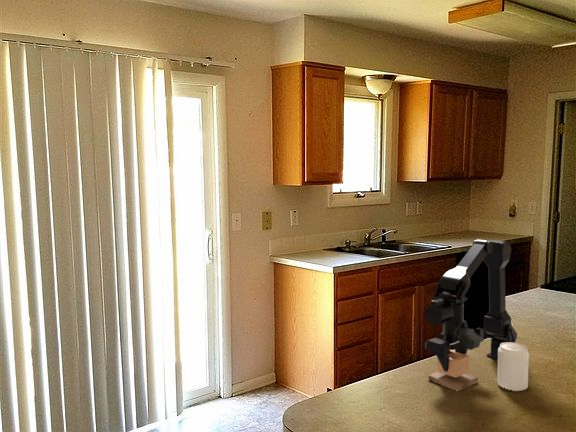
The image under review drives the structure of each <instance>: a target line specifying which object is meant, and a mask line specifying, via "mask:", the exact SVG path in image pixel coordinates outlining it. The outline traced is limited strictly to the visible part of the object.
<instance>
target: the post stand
mask: <svg viewBox="0 0 576 432" xmlns="http://www.w3.org/2000/svg"><path fill="white" fill-rule="evenodd" d="M478 378H479V377H477V376H475V375H472V374H470V373H466V374H463V375H461V376H459V377H456V378H455V377H452V376H449V375H447V374H444V373H442V372H439V371H436V372H433V373H431V374H428V379H430V380H432V381H435V382H437V383H440V384H442V385H444V386H447V387H450V388H452V389H454V390H459V389H461V388H464V387H466V386H468V385H470V386H472V385H471V384H473V383H475V384H477V383H478ZM432 381H431V382H432ZM476 382H477V383H476ZM437 383H436V384H437ZM473 385H474V384H473ZM444 386H443V387H444ZM468 387H469V386H468ZM466 388H467V387H466ZM464 389H465V388H464ZM454 390H453V391H454ZM461 390H462V389H461ZM459 391H460V390H459Z"/></svg>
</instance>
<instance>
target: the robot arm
mask: <svg viewBox="0 0 576 432" xmlns="http://www.w3.org/2000/svg"><path fill="white" fill-rule="evenodd" d="M511 253H512V246H511V244H510V243H509V242H508V241H506V240H495V239H479V238H478V239H475V240H474V241H472V246H471V247H470V248H469V250H468V251H467V252H466V253H465V255H464V257H462V259H461V260H460V262H459V263H458V264H457V265H456V267H454V268H452V269H449V270H448V271H446V272H445V273H444V274H443V275H442V276H441V278H440V280H439V282H438V284H437V286H436V288H435V289H436V290H435V291H434V294H433V299H434V300H433V299H431V301H430V305H428V306H427V307H426V308H425V311H424V317H425V320H426V321H427V322H428V323H429V324H430V325H432V326H437V325H443V327H442V332H441V333H439V334H440V335H439V337H440V338H438V337H434V338H431V339H427V340H426V341H425V343H424V344H425V346H424V347H425V349H424V350H427V351H428V352H431V353H434V354H435V355H436V358H437V357H438V359H439V361H440V363H441V365H442V368H443V370H444V371H446V372H447V371H448V367H449V356H450V355H451V354H452V353H453V352H452V351H450V350H451V345H452V346H453V347H454V351H456V352H459V353H462V354H465V355H467V352H468V351H469V350H474V349H478V348H479V347H480V345H481V343H482V342H484V341H485V338H489V339H490V352H489V353H487V354H486V356H487V357H489V358H492V359H495V360H498V348H499V347H500V344H501V343H505V342H513V343H516V341H517V339H518V333H517V331H516V330H515V328H514V326H513V322H512V317H511V316H510V314H509V312H508V311H507V310H506V309H507V308H506V307H507V306H506V270H505V269H506V266H507V264H508V263H509V261H510V259H511ZM482 262H484V263H485V265H486V266H487V269H488V298H489V299H488V301H489V302H488V303H489V305H488V307H489V309H488V312H487V314H486V315H484V316H483V328H481V327H477V328H475V329H474V328H469V327H468V321H466V320H464V317H465V316H464V315H465V314H464V313H465V312H464V310H465V309H464V308H465V307H464V306H465V302H467V300H468V297H466V294H467V292H468V290H469V289H470V288H471V278H472V276H473V274H474V273H475V271H477V270H478V268H479V267H480V265H481V264H482ZM484 337H485V338H484ZM441 338H442V339H441Z"/></svg>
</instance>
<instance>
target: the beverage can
mask: <svg viewBox="0 0 576 432" xmlns="http://www.w3.org/2000/svg"><path fill="white" fill-rule="evenodd" d="M529 357H530V356H529V350H528V348H527V346H526V345H524V344H522V343H519V342H515V343H513V342H505V343H501V344H500V347H499V348H498V359H497V384H498V386H500V387H501V388H503V389H504V388H505V389H504V390H507V389H508V391H510V390H512V392H520V391H521V392H522V391H525V390H527V388H528V387H529V360H530V359H529Z"/></svg>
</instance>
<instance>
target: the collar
mask: <svg viewBox="0 0 576 432" xmlns="http://www.w3.org/2000/svg"><path fill="white" fill-rule="evenodd" d="M450 351H452V352H453V353H452V354H451V355H450V356H449V367H448V371H447V372H446V371H444V370H443V368H442V365H441V363H440V361H439V359H438V357H437V356H436V359H437V365H436V367H437V371H436V372H438V371H439V372H442V373H444V374H447V375H449V376H452V377H455V378H456V377H459V376H461V375H463V374H466V373H467V374H469V373H470V355H468V354H466V355H465V354H462V353H459V352H456V351H455V350H452V349H450Z"/></svg>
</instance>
